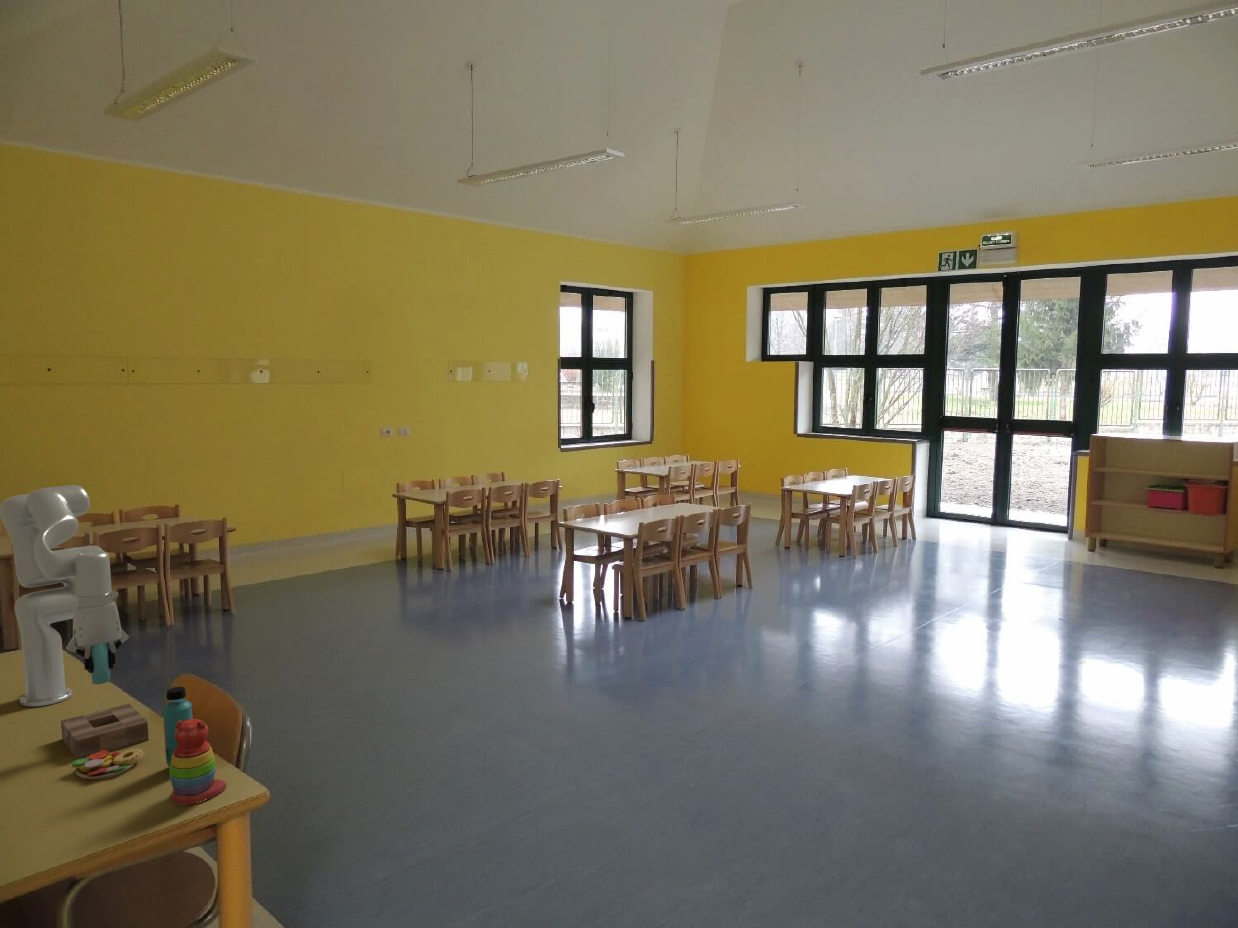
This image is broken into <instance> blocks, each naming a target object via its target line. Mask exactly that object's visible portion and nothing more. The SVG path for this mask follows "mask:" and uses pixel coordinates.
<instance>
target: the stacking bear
mask: <svg viewBox="0 0 1238 928" xmlns="http://www.w3.org/2000/svg"><path fill="white" fill-rule="evenodd" d="M175 726H176V731H175V739H176V742H177V744H178V746H177V747H176V748H175V749H174V752H173V754H172V758H171V763H170V767H169V772H168V773H169V779H170V783H171V785H172V789H173V791H172V794H171V799H172V802H173V803H175V804H176V803H177V804H176V805H178V804H193V805H195V804H194V803H197V802H200V801H203V800H205V799H209V798H211V797H213V796H215V795H217V794H218V795H220V794H221V793H223V792H224V790H226V788H227V783H226V781H225V780H223V779H218V778H215V775H216V768H217V765H216V764H217V763H216V762H217V761H216V758H215V755H214V752H213V748H212V746H211V745H210V743H209V742H208V741H207V738H208V734H209V727H208V725H207V723H205V722H204V721H203V720H201V719H199V718H192V719H189V720H186V721H184V722H183V721H178V722H177V723H176V725H175ZM220 792H221V793H220ZM219 793H220V794H219ZM218 795H217V796H218ZM215 797H216V796H215ZM213 798H214V797H213ZM211 799H212V798H211ZM209 800H210V799H209Z"/></svg>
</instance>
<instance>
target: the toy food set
mask: <svg viewBox="0 0 1238 928" xmlns="http://www.w3.org/2000/svg"><path fill="white" fill-rule="evenodd" d="M144 755H145V754H144V751H143V750H142V749H141V748H132V749H128V750H125V751H123V752H121V751H114V752H111V753H110V751H106V750H102V751H99V752H97V753H94V754H92V755H90V756H89V757H86V758H82V759H76V760H73V761H72V762H71V768H73V769H74V768H75V774H76V775H77V776H78V777H80V778H82V779H85V780H92V781H93V780H94V781H95V780H103V779H109V778H112V777H116V776H119V775H121V774H123V773H125V772H127V771H129V770H130V769H132V767H134V765H136V763H137V762H138V761H140V760H141V759H142V758H143V757H144Z"/></svg>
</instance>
